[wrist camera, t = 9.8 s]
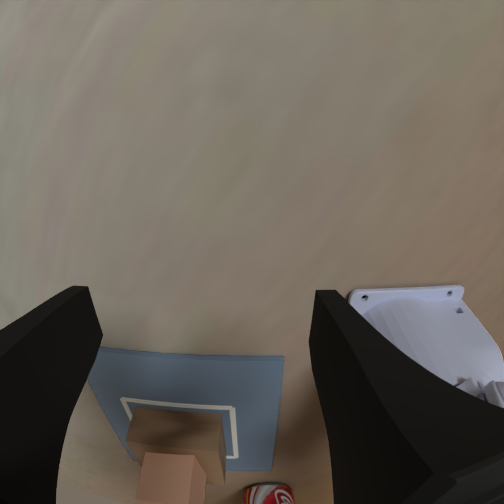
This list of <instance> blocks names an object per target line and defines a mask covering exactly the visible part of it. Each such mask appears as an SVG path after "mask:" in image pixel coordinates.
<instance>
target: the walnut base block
mask: <svg viewBox="0 0 504 504" xmlns="http://www.w3.org/2000/svg"><path fill="white" fill-rule="evenodd" d="M125 441H126V443H127V445H128V446H129V448H130V450H131V451H132V453H133V454H134V456H135V458H136V459H137V461H138V462H139V464H140V465H141V467H142V465H143V460H144V456H145V452H149V453H161V454H177V455H194V456H195V457H196V459H197V461H198V462H199V464H200V465H201V467H202V469H203V470H204V472H205V473H206V475H207V477H206V483H209V484H225V471H226V454H227V453H226V446H225V438H224V431H223V423H222V415H221V414H220V413H199V412H185V411H173V410H163V409H153V408H145V407H137V406H135V409H134V413H133V416H132V419H131V423H130V426H129V429H128V433H127V436H126V440H125Z"/></svg>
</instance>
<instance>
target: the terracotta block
mask: <svg viewBox="0 0 504 504" xmlns="http://www.w3.org/2000/svg"><path fill="white" fill-rule="evenodd" d="M206 477H207V475H206V473H205V472H204V470H203V469H202V467H201V465H200V464H199V462H198V461H197V459H196V457H195V456H194V455H177V454H161V453H149V452H145V456H144V460H143V465H142V469H141V474H140V478H139V483H138V488H137V492H136V497H135V500H136V501H138V502H139V503H140V504H204V499H205V488H206Z"/></svg>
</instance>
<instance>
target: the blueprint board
mask: <svg viewBox="0 0 504 504" xmlns="http://www.w3.org/2000/svg"><path fill="white" fill-rule="evenodd" d="M283 365H284V356H212V355H187V354H169V353H155V352H142V351H131V350H121V349H111V348H102V347H99V350H98V354H97V357H96V360H95V362H94V364H93V367H92V369H91V371H90V373H89V376H88V378H87V380H88V382H89V384H90V386H91V388H92V390H93V392H94V394H95V396H96V398H97V400H98V402H99V403H100V405H101V407H102V409H103V411H104V413H105V415H106V416H107V418H108V420H109V422H110V423H111V425H112V427H113V429H114V430H115V432H116V434H117V435H118V437H119V439H120V440H121V442H122V444H123V445H124V447H125V448H126V450H127V452H128V453H129V455H130V456H131V458H132V459H133V460H134V461H137V459H136V458H135V456H134V454H133V453H132V451H131V450H130V448H129V446H128V445H127V443H126V441H125V440H126V436H127V433H128V429H129V426H130V423H131V419H132V416H133V413H134V409H135V406H137V407H145V408H153V409H163V410H173V411H185V412H199V413H220V414H221V415H222V423H223V431H224V438H225V446H226V453H227V454H226V470H232V471H271V470H272V462H273V454H274V446H275V438H276V430H277V422H278V413H279V404H280V395H281V385H282V376H283Z"/></svg>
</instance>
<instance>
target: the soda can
mask: <svg viewBox="0 0 504 504" xmlns="http://www.w3.org/2000/svg"><path fill="white" fill-rule="evenodd" d="M243 504H295V499H294V494H293V490H292V489H291V488H289V487H287V486H285V485H284V484H281V483H260V484H256V485H253V486H252V487H251V488H249V489H247V490H246V491H245V492H244V498H243Z"/></svg>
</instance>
